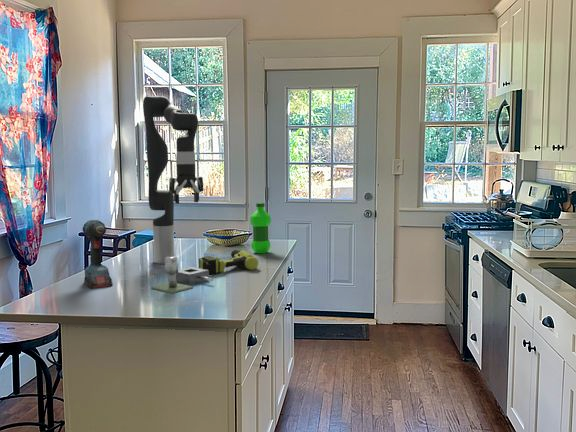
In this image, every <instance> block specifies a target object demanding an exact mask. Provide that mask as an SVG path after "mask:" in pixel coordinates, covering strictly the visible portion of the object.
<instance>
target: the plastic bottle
mask: <svg viewBox="0 0 576 432" xmlns="http://www.w3.org/2000/svg"><path fill="white" fill-rule="evenodd" d="M255 203H256V204H255V206H256V208H257V209H256V210H255V211H254V212H253V213H252V214H251V215H250V224H251V226H252V234H253V235H252V237H253V239H252V241H251V249H252V250H253V252H255V254H258V253H263V254H266V253H267V252H269V251H270V249H271V242H270V240H269V226H270V225H271V221H272V218H271V215H270V214H269V212H267V211H265V210H264V207H265V206H266V205H265V202H255Z"/></svg>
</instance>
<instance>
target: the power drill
mask: <svg viewBox="0 0 576 432" xmlns="http://www.w3.org/2000/svg"><path fill="white" fill-rule="evenodd" d="M82 232H83V233H84V234H85V236H86V238H87V239H88V240H89V244H90V248H89V253H90V254H89V255H90V257H89V258H90V264H89V265H88V266H86V267H85V270H84V281H83V282H84V283H85V285H86V287H88V289H95V288H96V289H97V288H102V287H103V288H104V287H112V286H113V284H114V283H113V280H112V278H111V275H110V272H109V268H108V267H107V266H106V265H103V264H102V252H101V249H102V248H101V239H102V238H103V236H104V234H106V233H107V227H106V225H105V223H103V222H102V221H100V220H98V219H90V220H87V221H86V222H85V223H84V224H83V226H82Z"/></svg>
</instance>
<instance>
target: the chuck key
mask: <svg viewBox="0 0 576 432" xmlns="http://www.w3.org/2000/svg"><path fill="white" fill-rule="evenodd" d="M164 267H165V271H164V272H165V274H167V278H168V282H167V283H169V287H177V283H178V282H177V279H176V272H178V270H179V265H178V257H177V256H174V257H166V258H165V264H164Z"/></svg>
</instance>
